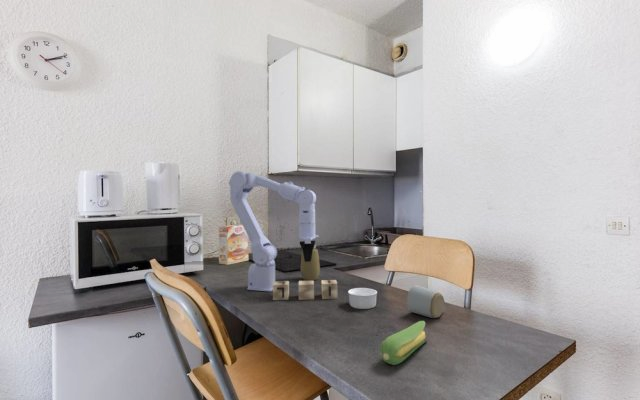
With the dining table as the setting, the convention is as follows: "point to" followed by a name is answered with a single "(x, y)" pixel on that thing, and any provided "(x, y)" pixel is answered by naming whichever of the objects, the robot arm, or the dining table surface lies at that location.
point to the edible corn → (403, 343)
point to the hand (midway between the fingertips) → (307, 261)
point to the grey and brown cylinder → (425, 302)
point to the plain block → (306, 290)
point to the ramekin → (362, 298)
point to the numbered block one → (329, 289)
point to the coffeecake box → (232, 244)
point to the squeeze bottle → (310, 266)
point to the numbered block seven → (281, 290)
